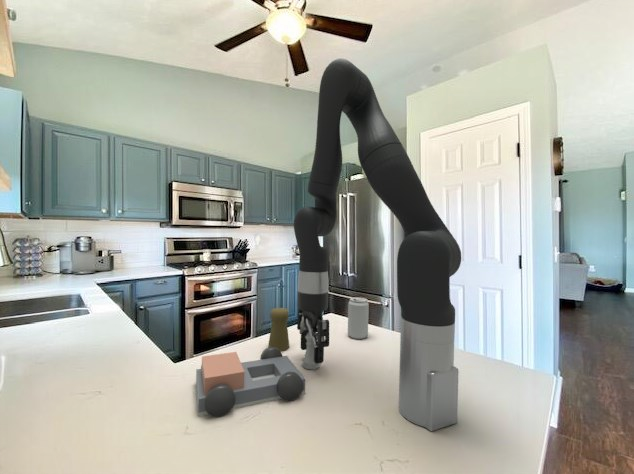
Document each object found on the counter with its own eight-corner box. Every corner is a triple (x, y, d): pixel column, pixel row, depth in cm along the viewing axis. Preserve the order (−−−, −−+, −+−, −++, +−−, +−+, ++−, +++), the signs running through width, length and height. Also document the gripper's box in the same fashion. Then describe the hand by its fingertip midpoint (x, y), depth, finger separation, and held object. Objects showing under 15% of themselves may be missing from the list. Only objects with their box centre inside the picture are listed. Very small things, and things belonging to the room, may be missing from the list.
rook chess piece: (321, 362, 74) (321, 330, 74) (319, 370, 69) (320, 337, 69) (303, 361, 74) (304, 330, 74) (300, 369, 70) (301, 336, 70)
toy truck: (308, 397, 58) (308, 367, 58) (198, 421, 50) (199, 386, 50) (284, 365, 72) (284, 340, 72) (195, 380, 64) (196, 352, 64)
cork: (278, 353, 79) (279, 312, 79) (263, 347, 82) (264, 308, 82) (293, 347, 84) (294, 308, 83) (278, 341, 87) (279, 304, 87)
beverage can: (343, 334, 95) (344, 297, 95) (360, 332, 98) (361, 296, 98) (354, 341, 89) (355, 301, 89) (371, 338, 92) (372, 300, 92)
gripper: (340, 294, 67) (338, 365, 67) (315, 283, 80) (313, 343, 80) (310, 296, 64) (308, 370, 64) (289, 285, 77) (287, 347, 77)
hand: (311, 355), depth 72 cm, fingers open, 8 cm apart
